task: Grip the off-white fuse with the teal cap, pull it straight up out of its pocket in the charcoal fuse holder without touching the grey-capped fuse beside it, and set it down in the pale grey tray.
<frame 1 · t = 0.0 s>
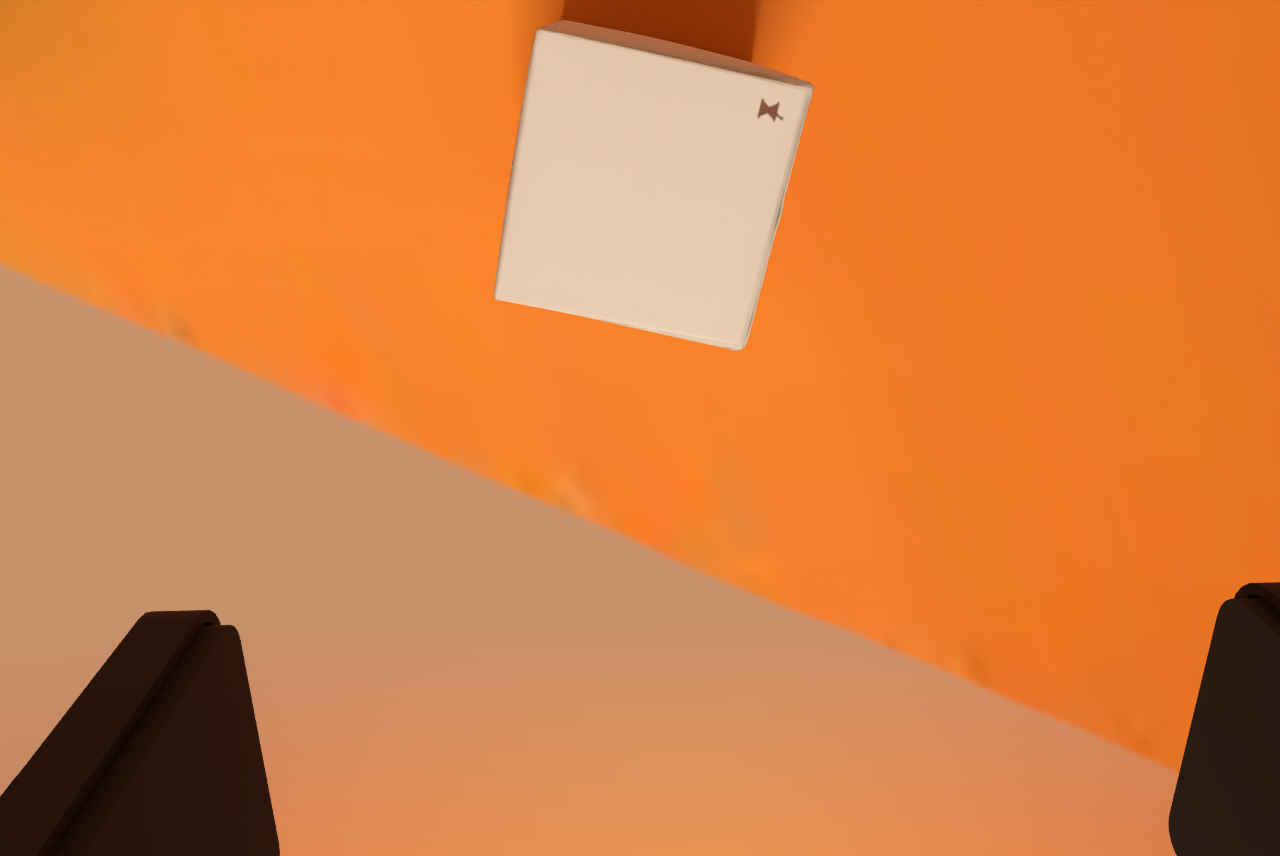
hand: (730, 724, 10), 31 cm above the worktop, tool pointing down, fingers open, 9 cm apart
supplement box: (635, 140, 38), on the worktop
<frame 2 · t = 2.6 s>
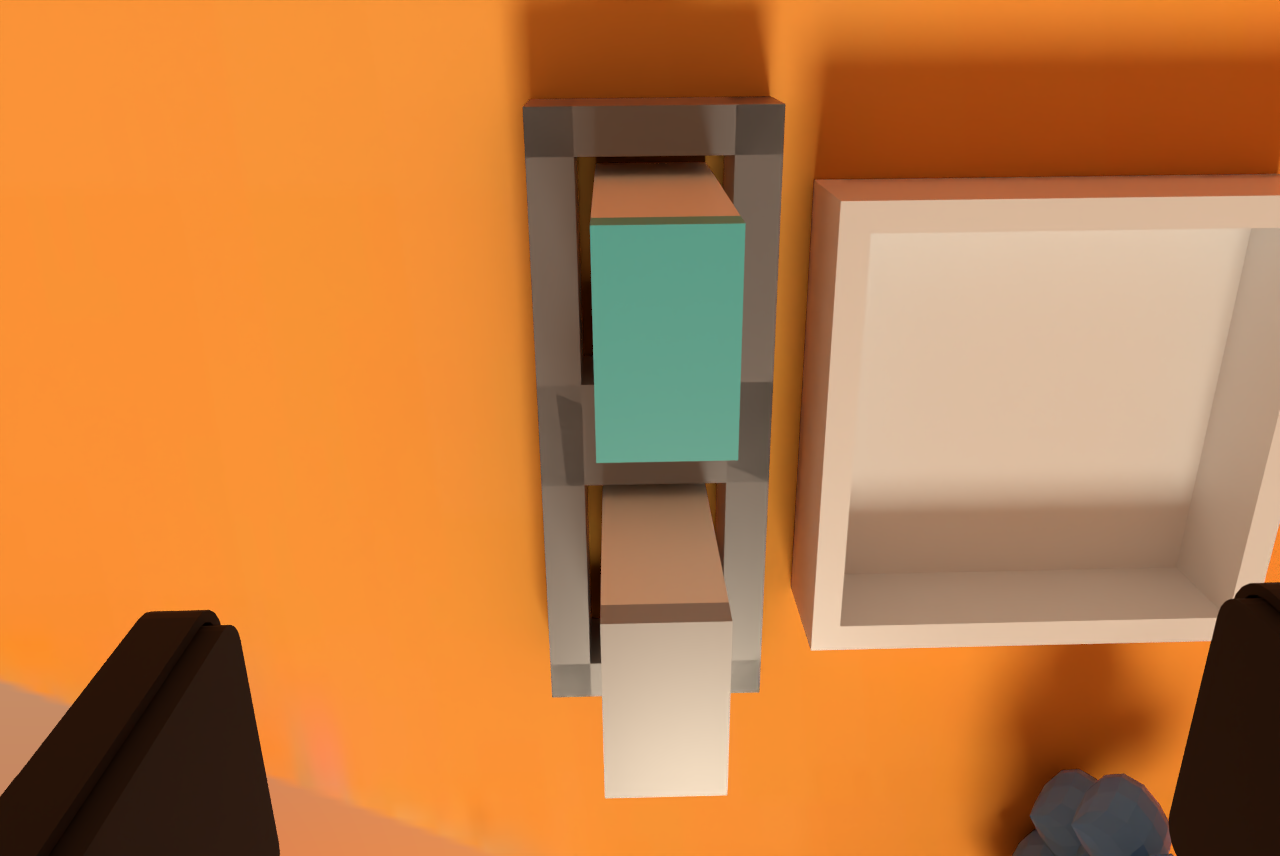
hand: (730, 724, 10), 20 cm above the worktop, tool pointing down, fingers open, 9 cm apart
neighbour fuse: (652, 535, 32), resting in fuse holder
tray: (1016, 396, 30), on the worktop
fuse holder: (651, 402, 30), on the worktop
grapes: (1057, 834, 37), on the worktop
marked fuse: (651, 253, 28), resting in fuse holder
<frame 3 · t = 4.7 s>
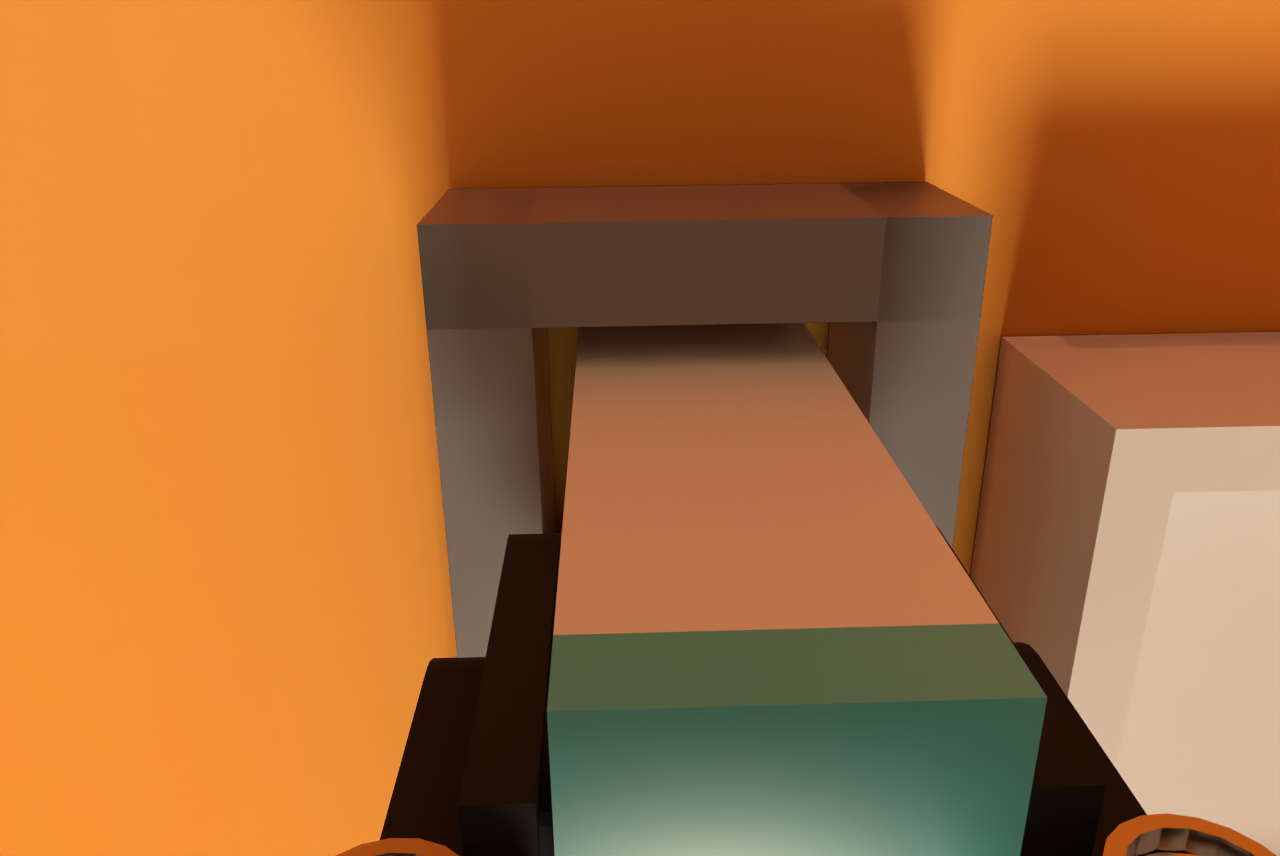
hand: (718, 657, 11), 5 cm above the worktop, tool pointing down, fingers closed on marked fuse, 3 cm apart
fuse holder: (685, 716, 17), on the worktop
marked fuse: (685, 471, 15), resting in fuse holder, touching gripper
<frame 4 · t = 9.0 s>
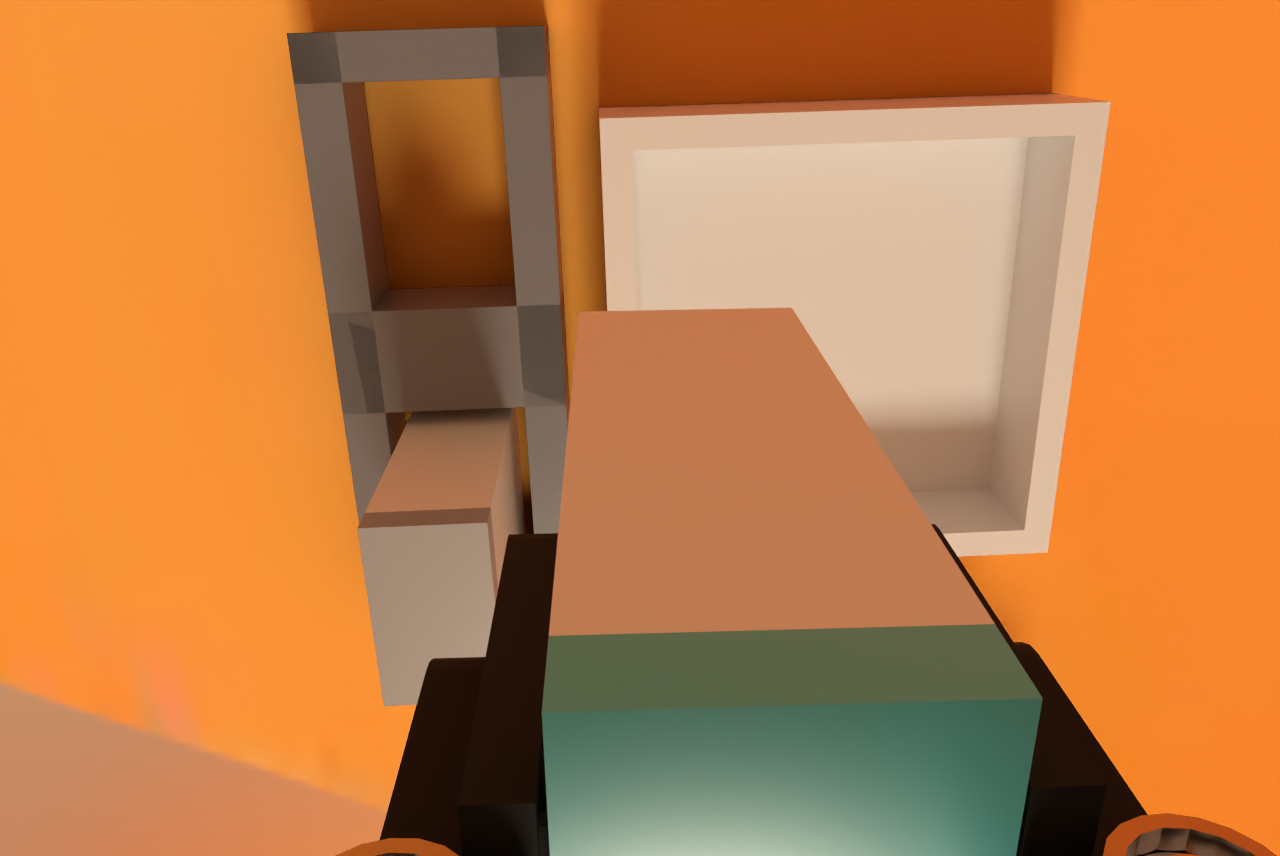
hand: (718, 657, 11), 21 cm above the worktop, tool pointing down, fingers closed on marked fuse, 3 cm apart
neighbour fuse: (474, 468, 32), resting in fuse holder
tray: (818, 321, 31), on the worktop
fuse holder: (460, 335, 31), on the worktop
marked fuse: (684, 471, 15), point 16 cm above the worktop, touching gripper
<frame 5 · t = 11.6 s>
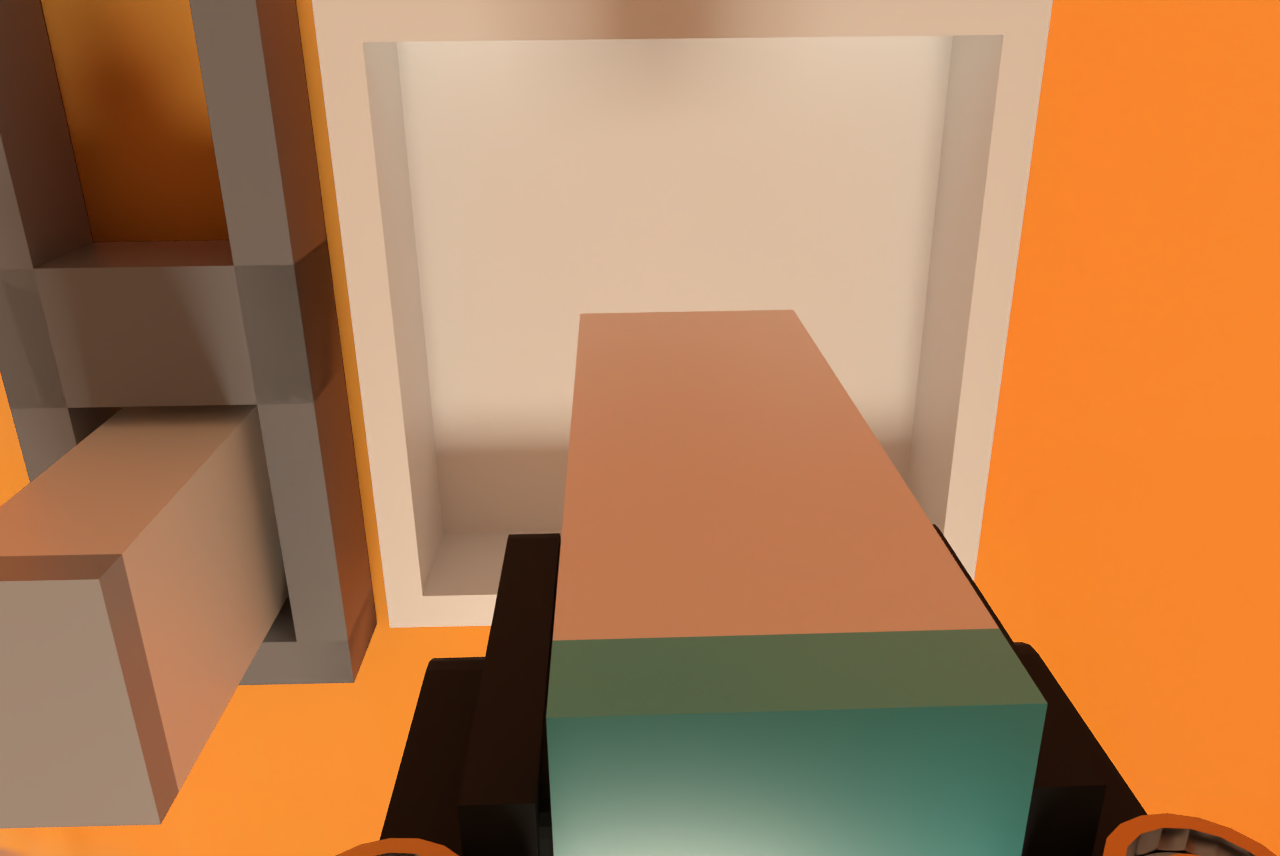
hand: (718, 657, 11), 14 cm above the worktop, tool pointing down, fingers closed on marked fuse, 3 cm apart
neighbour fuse: (228, 481, 25), resting in fuse holder
tray: (673, 298, 23), on the worktop
fuse holder: (195, 305, 23), on the worktop
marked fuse: (685, 473, 15), point 9 cm above the worktop, touching gripper
when the fingers open (6 cm above the worktop, at t = 13.5 s): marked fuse drops 1 cm, resting on tray.
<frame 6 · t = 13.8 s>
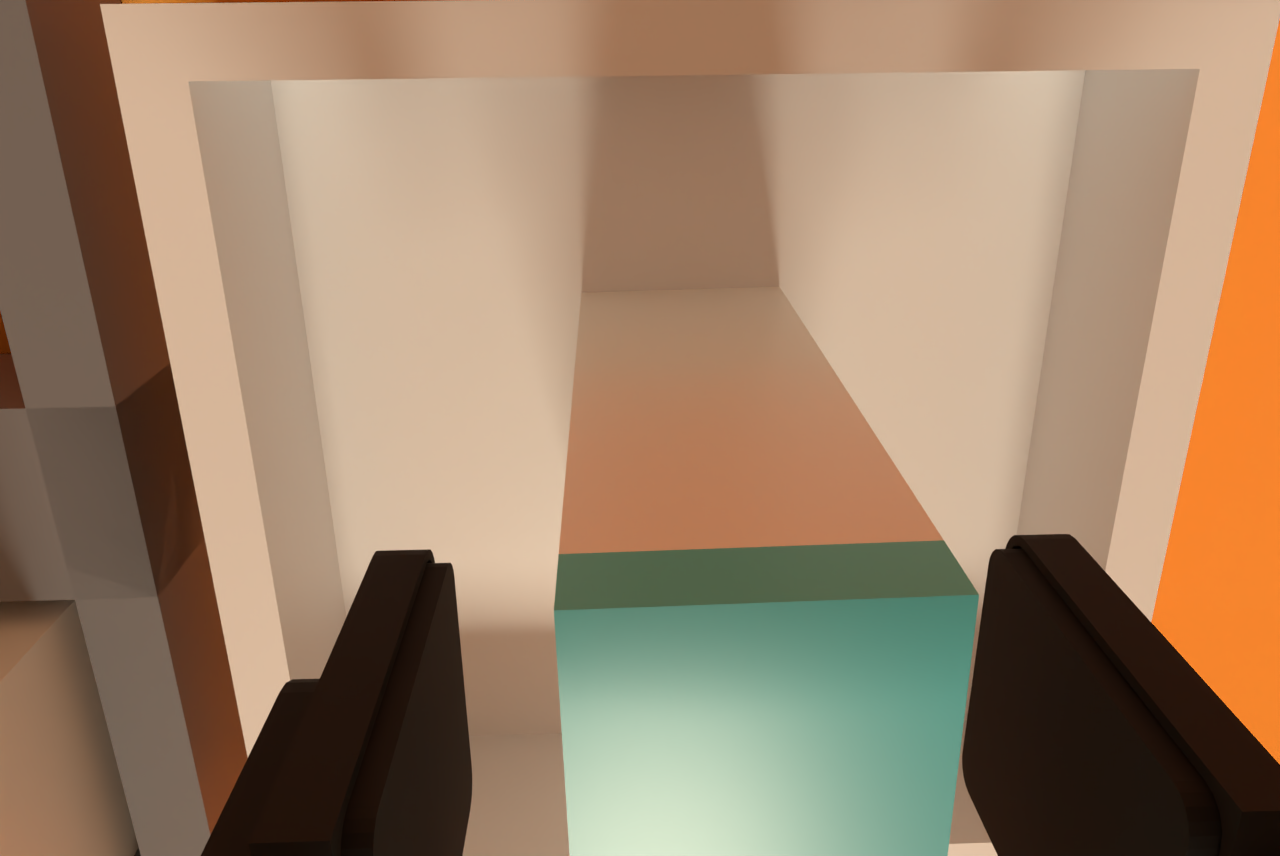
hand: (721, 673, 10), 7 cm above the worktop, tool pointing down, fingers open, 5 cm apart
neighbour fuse: (67, 670, 18), resting in fuse holder
tray: (677, 427, 17), on the worktop
fuse holder: (4, 441, 16), on the worktop
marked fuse: (681, 441, 16), point 1 cm above the worktop, touching tray
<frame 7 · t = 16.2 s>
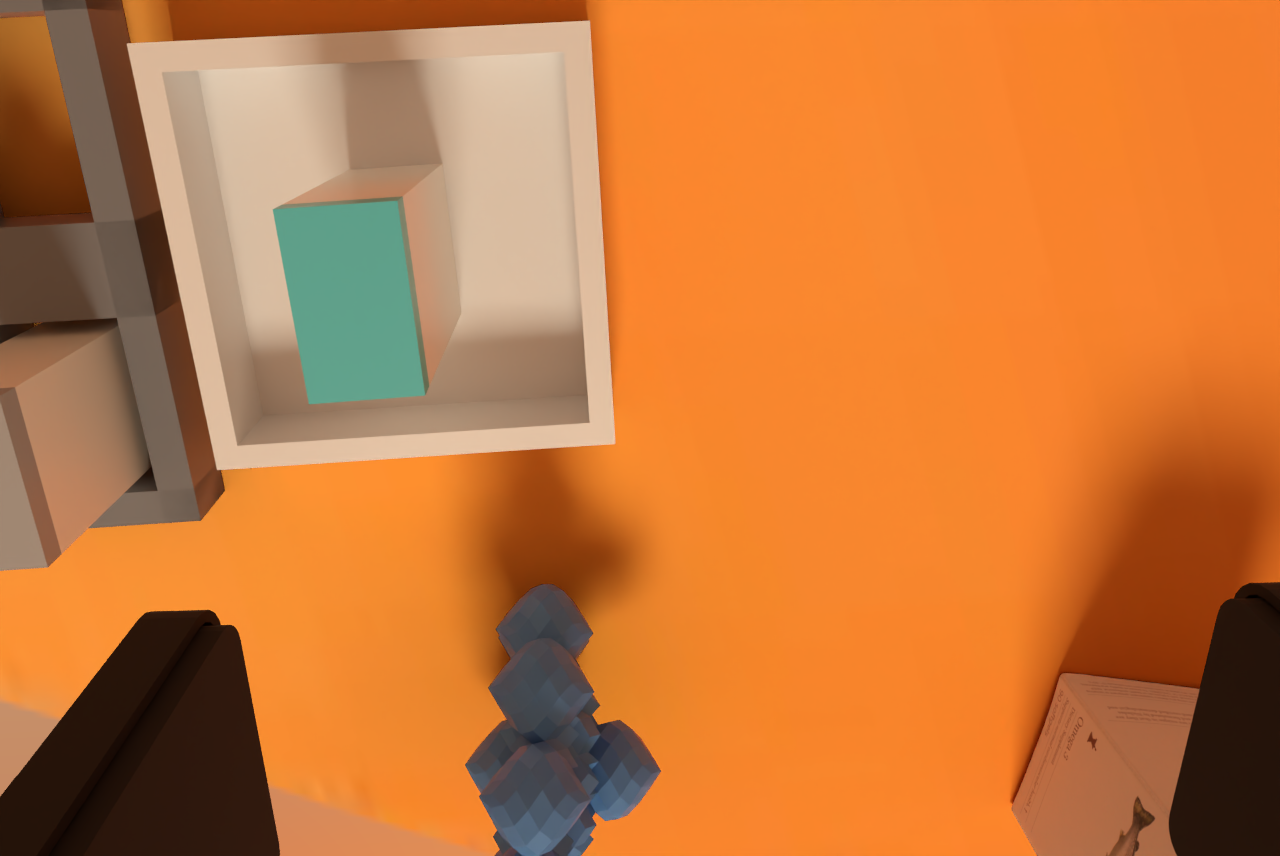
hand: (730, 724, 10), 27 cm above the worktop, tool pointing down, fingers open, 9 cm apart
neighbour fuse: (109, 386, 35), resting in fuse holder
tray: (408, 240, 34), on the worktop
fuse holder: (77, 259, 34), on the worktop
supplement box: (1106, 746, 44), on the worktop
grapes: (565, 668, 41), on the worktop
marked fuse: (406, 243, 33), point 1 cm above the worktop, touching tray
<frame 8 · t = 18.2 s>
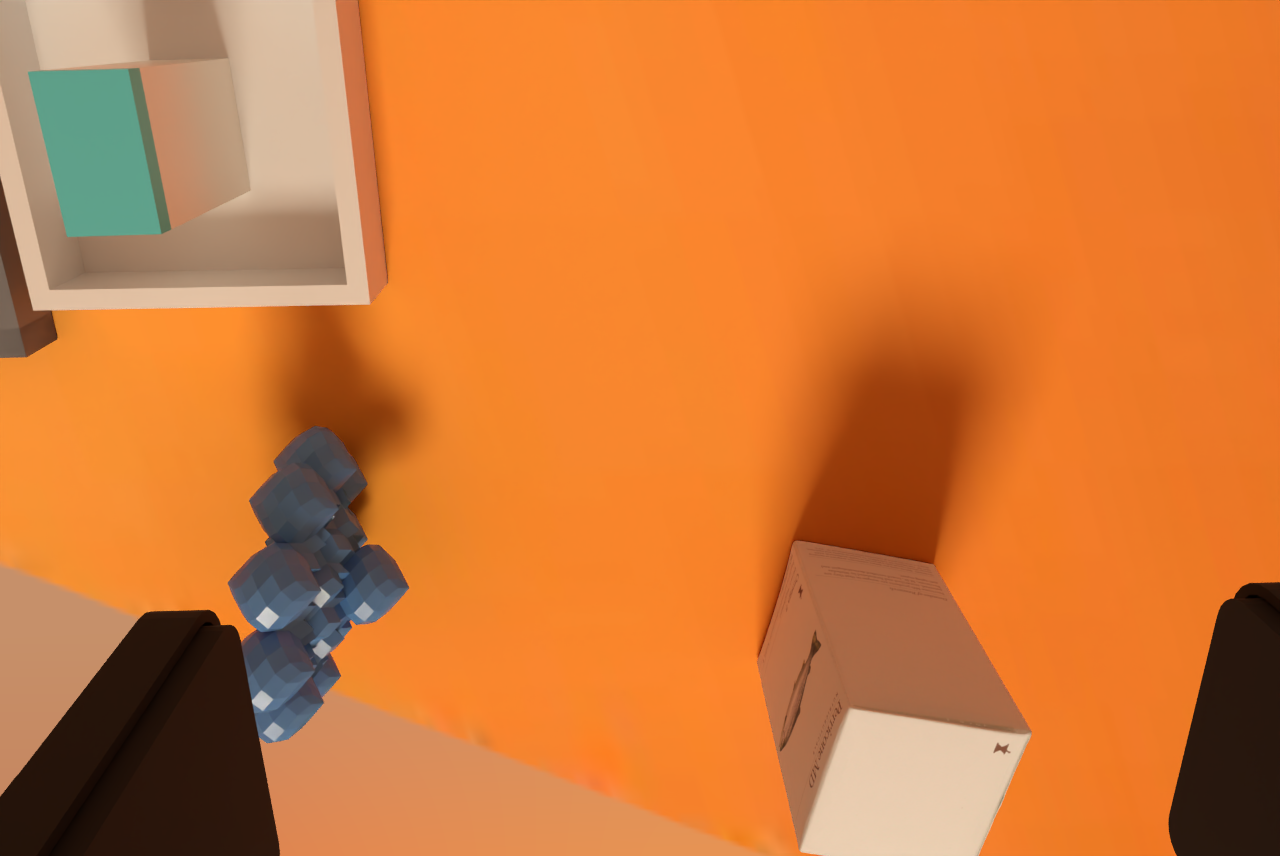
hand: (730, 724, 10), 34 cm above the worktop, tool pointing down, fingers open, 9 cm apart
tray: (206, 125, 40), on the worktop
supplement box: (841, 610, 50), on the worktop
grapes: (359, 513, 47), on the worktop
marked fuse: (201, 127, 39), point 1 cm above the worktop, touching tray
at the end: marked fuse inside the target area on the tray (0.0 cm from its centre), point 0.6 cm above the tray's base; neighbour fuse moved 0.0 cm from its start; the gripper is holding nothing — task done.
